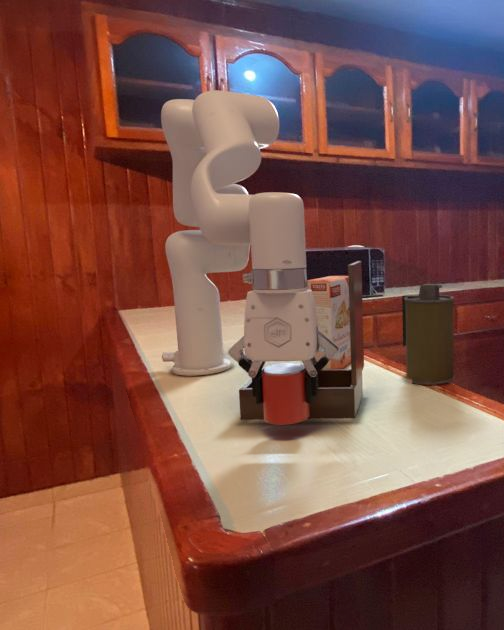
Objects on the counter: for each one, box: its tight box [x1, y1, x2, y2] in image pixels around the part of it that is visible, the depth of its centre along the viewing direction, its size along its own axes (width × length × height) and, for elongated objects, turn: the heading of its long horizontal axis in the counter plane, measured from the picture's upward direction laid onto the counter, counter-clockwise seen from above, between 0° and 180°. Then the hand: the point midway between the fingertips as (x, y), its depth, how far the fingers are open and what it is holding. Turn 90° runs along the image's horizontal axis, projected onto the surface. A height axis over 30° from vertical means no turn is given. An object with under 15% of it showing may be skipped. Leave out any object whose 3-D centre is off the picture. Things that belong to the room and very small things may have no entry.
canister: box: [401, 283, 456, 386], centre depth 111 cm, size 11×10×20 cm
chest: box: [238, 368, 364, 421], centre depth 92 cm, size 19×13×6 cm
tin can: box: [261, 362, 310, 426], centre depth 78 cm, size 7×7×8 cm
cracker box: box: [307, 275, 351, 369], centre depth 120 cm, size 14×6×21 cm, turn 168°
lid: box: [347, 260, 365, 386], centre depth 90 cm, size 19×13×1 cm
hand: (286, 400), depth 78 cm, fingers closed on tin can, 6 cm apart
